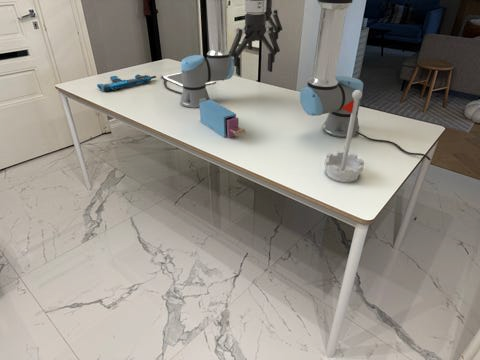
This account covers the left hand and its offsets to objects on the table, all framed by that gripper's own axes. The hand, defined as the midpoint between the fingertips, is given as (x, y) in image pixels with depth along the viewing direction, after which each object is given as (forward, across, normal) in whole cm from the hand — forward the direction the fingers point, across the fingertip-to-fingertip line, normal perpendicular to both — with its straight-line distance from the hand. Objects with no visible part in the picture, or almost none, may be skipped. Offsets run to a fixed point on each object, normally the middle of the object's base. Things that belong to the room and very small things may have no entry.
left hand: (254, 72), depth 133 cm
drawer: (+25, -11, +6) cm, 28 cm away
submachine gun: (+27, -43, +95) cm, 107 cm away
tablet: (+27, -7, +87) cm, 91 cm away
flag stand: (+26, +16, -42) cm, 52 cm away
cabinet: (+26, -12, +12) cm, 31 cm away
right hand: (-1, +20, +35) cm, 40 cm away
